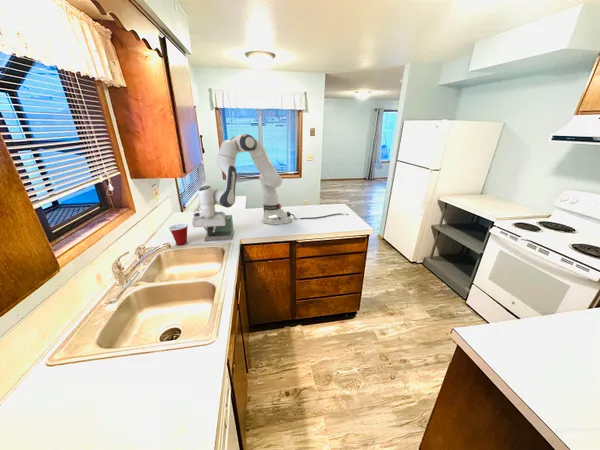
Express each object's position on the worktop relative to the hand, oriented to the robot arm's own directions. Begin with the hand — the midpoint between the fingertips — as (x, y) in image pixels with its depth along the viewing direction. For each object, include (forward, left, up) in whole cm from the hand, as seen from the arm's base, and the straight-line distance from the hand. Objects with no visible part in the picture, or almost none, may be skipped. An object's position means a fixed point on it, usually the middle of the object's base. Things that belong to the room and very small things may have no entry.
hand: (210, 232), depth 155 cm
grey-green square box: (-5, -4, -4) cm, 8 cm away
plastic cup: (+17, +6, -5) cm, 18 cm away
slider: (0, 0, -1) cm, 1 cm away
